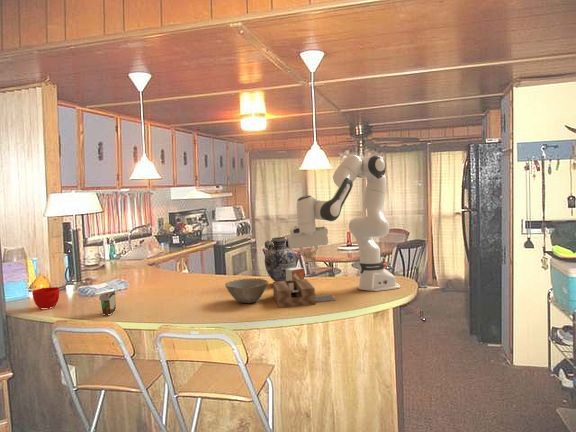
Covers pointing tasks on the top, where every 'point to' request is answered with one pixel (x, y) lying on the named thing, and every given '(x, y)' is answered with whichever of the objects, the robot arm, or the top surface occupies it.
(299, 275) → the small box
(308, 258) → the beech bar
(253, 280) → the ceramic bowl
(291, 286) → the eject lever
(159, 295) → the top surface
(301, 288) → the walnut channel block
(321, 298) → the slate mat
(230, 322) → the top surface
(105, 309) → the food container
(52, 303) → the ceramic cup
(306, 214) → the robot arm
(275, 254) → the decorative vase
